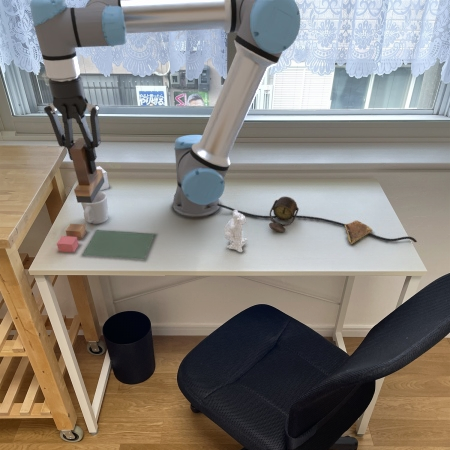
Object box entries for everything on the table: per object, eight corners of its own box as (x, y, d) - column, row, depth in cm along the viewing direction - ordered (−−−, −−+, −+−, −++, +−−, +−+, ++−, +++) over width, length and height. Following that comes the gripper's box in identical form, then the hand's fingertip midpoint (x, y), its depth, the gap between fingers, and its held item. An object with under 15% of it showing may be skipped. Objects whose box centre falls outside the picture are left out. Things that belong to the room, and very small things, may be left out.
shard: (350, 246, 129) (351, 241, 128) (330, 235, 134) (331, 230, 133) (372, 233, 135) (374, 228, 133) (352, 223, 139) (354, 218, 138)
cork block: (86, 232, 134) (84, 224, 132) (82, 240, 131) (80, 231, 129) (72, 231, 134) (70, 223, 132) (67, 239, 131) (65, 230, 129)
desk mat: (154, 234, 133) (154, 233, 133) (144, 260, 124) (144, 258, 123) (97, 231, 135) (97, 230, 134) (82, 256, 125) (82, 254, 125)
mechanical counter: (310, 205, 136) (286, 188, 140) (286, 217, 129) (261, 199, 132) (302, 224, 141) (278, 207, 145) (278, 236, 134) (254, 218, 137)
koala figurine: (248, 254, 126) (250, 217, 118) (225, 255, 126) (225, 218, 118) (245, 238, 132) (247, 202, 124) (223, 238, 132) (223, 203, 124)
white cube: (109, 188, 156) (106, 172, 152) (93, 192, 154) (90, 176, 150) (102, 181, 160) (99, 165, 156) (86, 185, 157) (83, 170, 153)
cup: (101, 232, 134) (96, 209, 129) (77, 229, 135) (71, 206, 130) (114, 214, 142) (110, 192, 137) (91, 212, 143) (86, 189, 138)
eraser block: (79, 245, 129) (76, 236, 127) (74, 253, 126) (71, 244, 124) (64, 244, 129) (61, 235, 127) (59, 252, 126) (56, 243, 124)
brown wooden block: (91, 203, 118) (79, 153, 109) (77, 202, 118) (64, 153, 109) (104, 181, 127) (94, 134, 117) (91, 181, 127) (79, 134, 118)
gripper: (102, 73, 105) (119, 166, 121) (37, 72, 106) (62, 164, 122) (92, 82, 99) (111, 178, 115) (24, 81, 101) (52, 176, 116)
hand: (86, 171), depth 118 cm, fingers closed on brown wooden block, 3 cm apart
